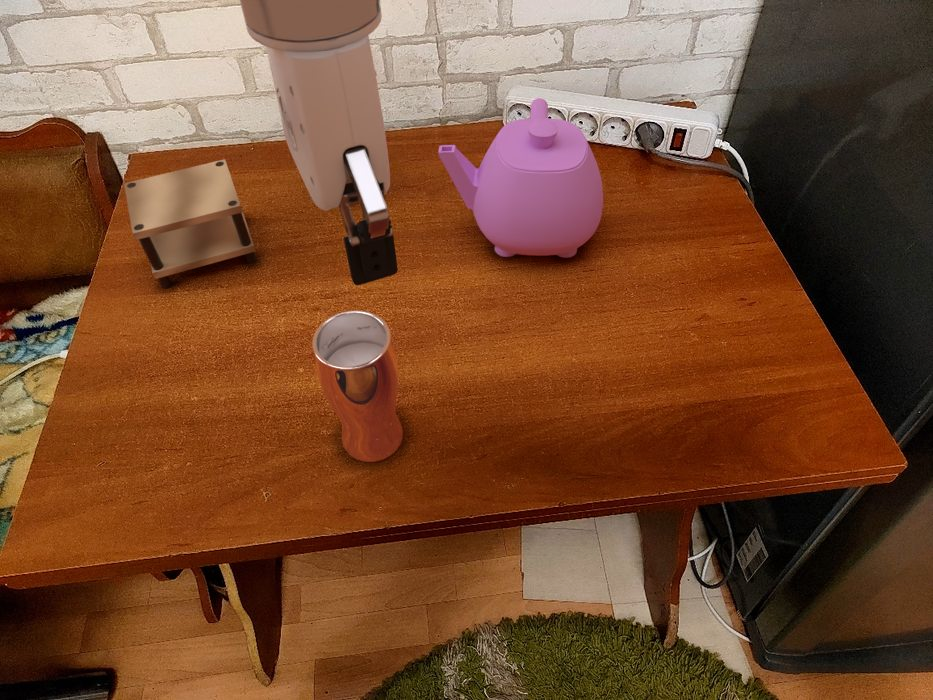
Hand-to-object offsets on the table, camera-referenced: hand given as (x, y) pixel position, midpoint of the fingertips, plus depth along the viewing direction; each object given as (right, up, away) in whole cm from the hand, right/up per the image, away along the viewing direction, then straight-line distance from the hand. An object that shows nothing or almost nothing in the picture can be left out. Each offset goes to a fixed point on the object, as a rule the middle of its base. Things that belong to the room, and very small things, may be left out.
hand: (354, 235), depth 50 cm
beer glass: (-1, -17, +18) cm, 25 cm away
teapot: (+15, +8, +39) cm, 43 cm away
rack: (-25, +4, +36) cm, 44 cm away
